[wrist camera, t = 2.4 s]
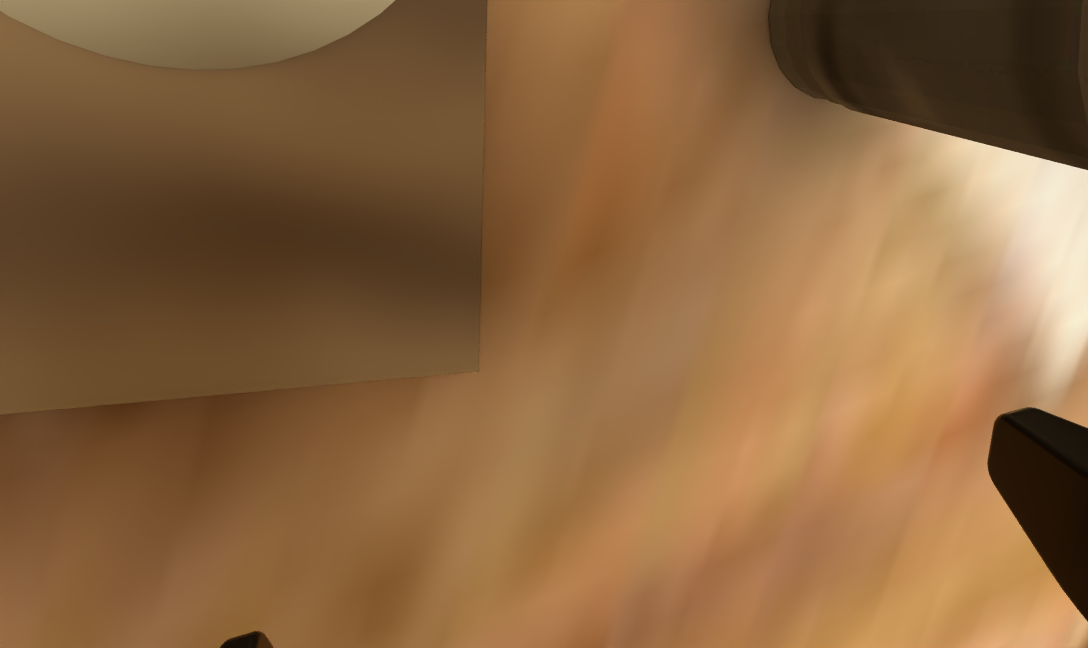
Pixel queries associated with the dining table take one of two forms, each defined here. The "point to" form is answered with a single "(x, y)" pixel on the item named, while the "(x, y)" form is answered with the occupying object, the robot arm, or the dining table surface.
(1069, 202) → the dining table surface
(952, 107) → the beverage cup
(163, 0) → the walnut board
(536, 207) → the dining table surface
